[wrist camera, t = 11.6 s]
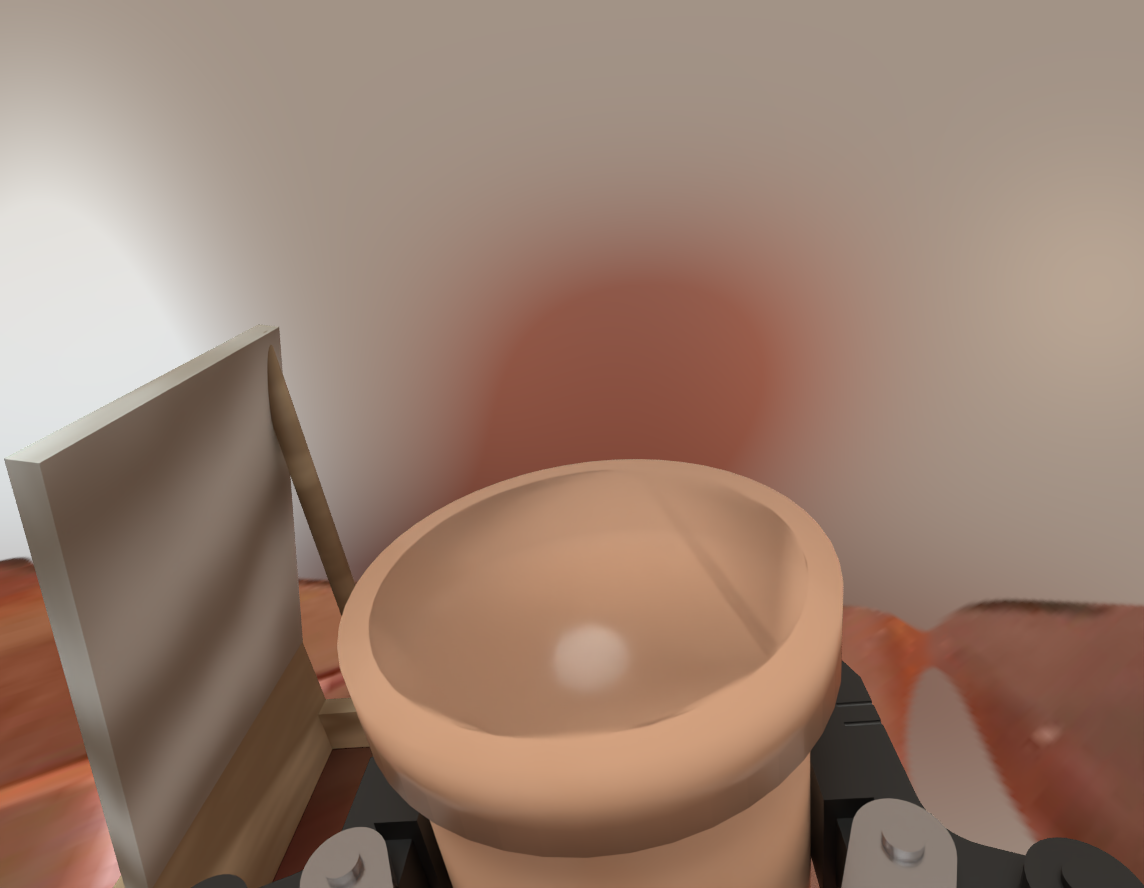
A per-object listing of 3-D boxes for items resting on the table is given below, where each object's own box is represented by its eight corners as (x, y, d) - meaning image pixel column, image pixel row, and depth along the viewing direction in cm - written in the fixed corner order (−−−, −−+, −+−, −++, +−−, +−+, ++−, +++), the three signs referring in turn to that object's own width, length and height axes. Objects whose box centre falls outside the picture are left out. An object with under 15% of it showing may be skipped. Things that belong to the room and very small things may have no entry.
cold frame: (183, 1024, 24) (-202, 490, 15) (321, 734, 36) (155, 336, 27) (614, 1016, 22) (482, 409, 13) (612, 714, 34) (541, 282, 25)
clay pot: (479, 1279, 11) (232, 795, 7) (525, 878, 17) (417, 481, 13) (890, 1289, 11) (949, 751, 6) (786, 867, 17) (774, 441, 12)
